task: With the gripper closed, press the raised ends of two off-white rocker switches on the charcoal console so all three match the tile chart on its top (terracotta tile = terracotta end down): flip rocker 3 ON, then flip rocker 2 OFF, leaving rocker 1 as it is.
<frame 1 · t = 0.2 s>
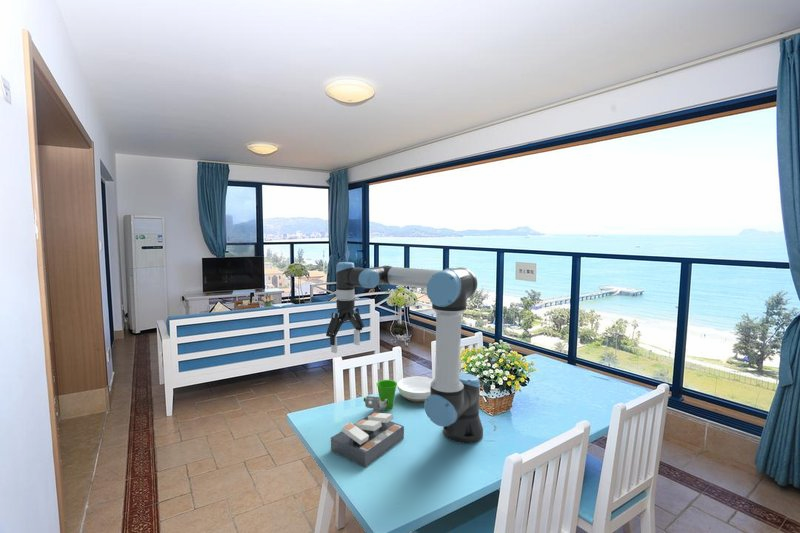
hand: (345, 348, 165), 28 cm above the table, fingers open, 13 cm apart
mechanical component: (376, 422, 159), on the table
rocker 3: (355, 433, 136), point 8 cm above the table, hinge at -13.0°
rocker 2: (368, 424, 141), point 8 cm above the table, hinge at 13.0°
rocker 1: (380, 417, 147), point 8 cm above the table, hinge at 13.0°
console: (368, 444, 142), on the table
cup: (386, 408, 172), on the table
bowl: (418, 397, 183), on the table
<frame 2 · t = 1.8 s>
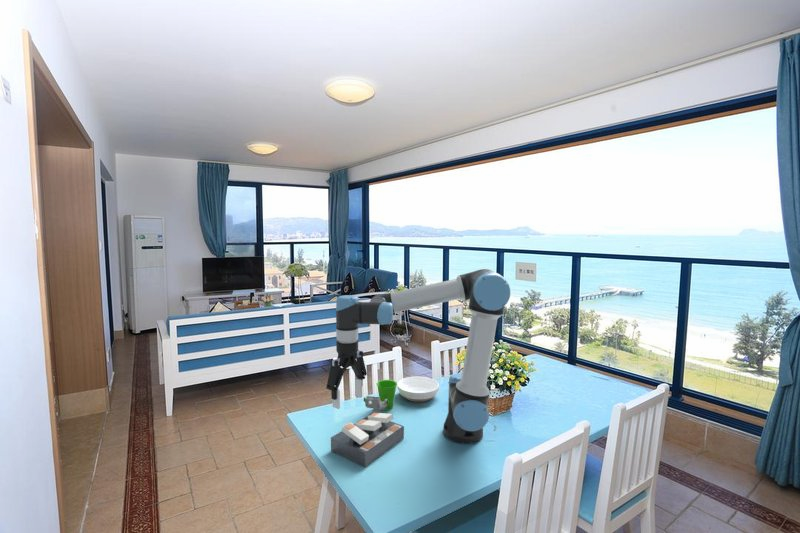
hand: (347, 401, 137), 18 cm above the table, fingers open, 10 cm apart
nothing on the table moved.
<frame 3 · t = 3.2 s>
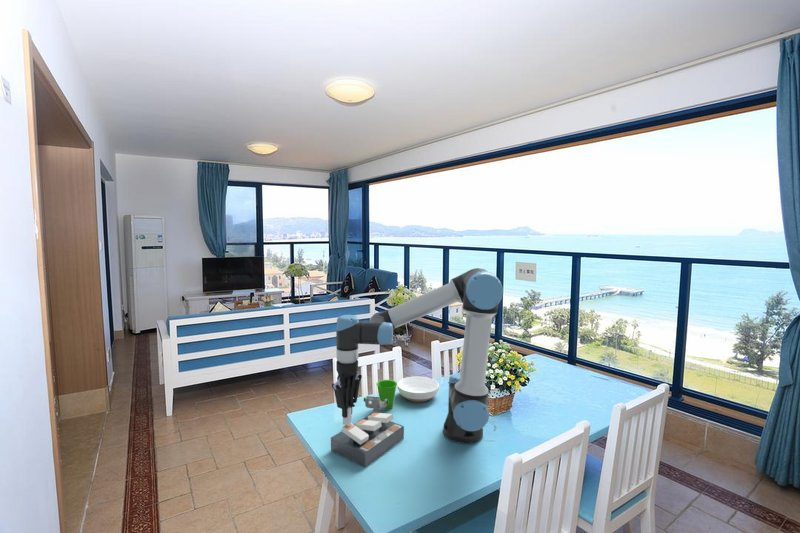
hand: (347, 424, 138), 9 cm above the table, fingers closed
rocker 3: (355, 433, 136), point 8 cm above the table, hinge at -12.4°, touching gripper
everything else where it was.
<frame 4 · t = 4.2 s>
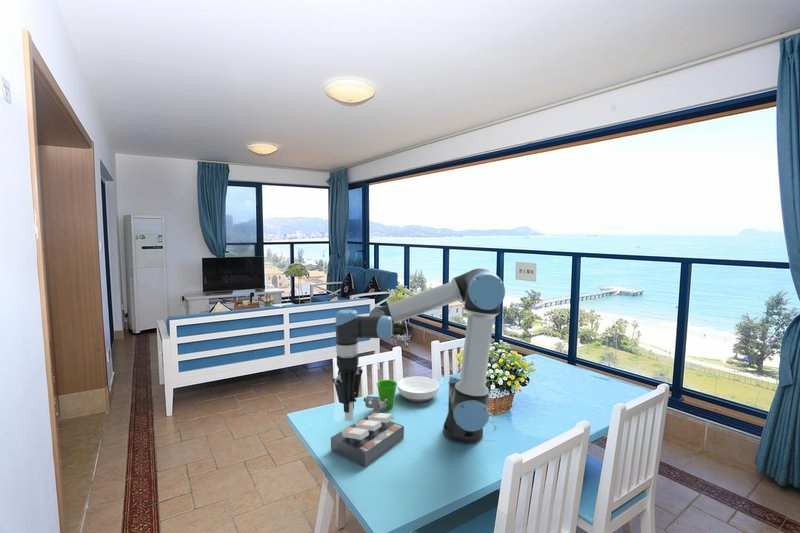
hand: (349, 419, 137), 11 cm above the table, fingers closed
rocker 3: (355, 433, 136), point 8 cm above the table, hinge at 11.8°
everything else where it was.
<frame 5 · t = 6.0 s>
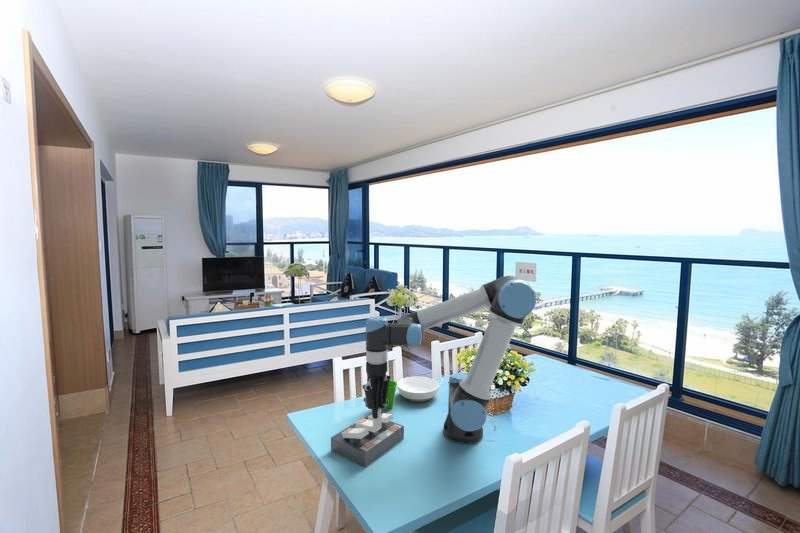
hand: (377, 425, 139), 9 cm above the table, fingers closed
rocker 3: (355, 433, 136), point 8 cm above the table, hinge at 17.0°
rocker 2: (368, 424, 141), point 8 cm above the table, hinge at 5.4°, touching gripper
everything else where it was.
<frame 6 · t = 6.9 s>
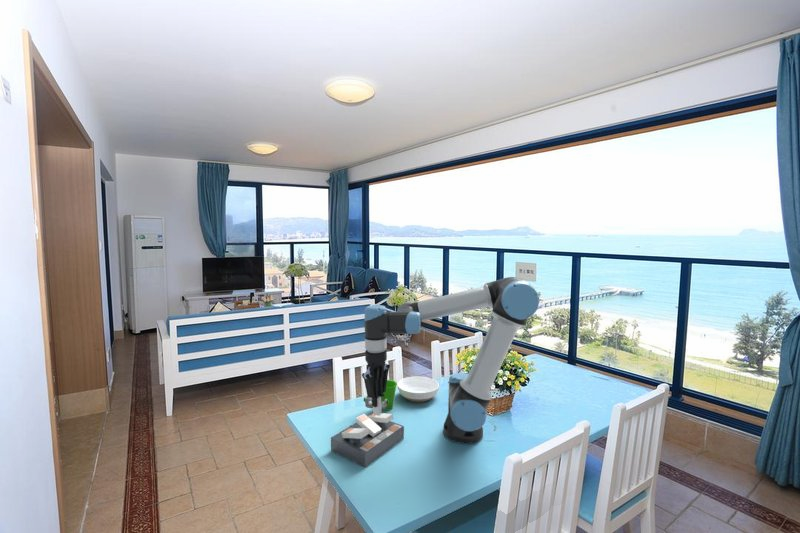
hand: (377, 414, 139), 13 cm above the table, fingers closed
rocker 2: (368, 424, 141), point 8 cm above the table, hinge at -20.6°
everything else where it was.
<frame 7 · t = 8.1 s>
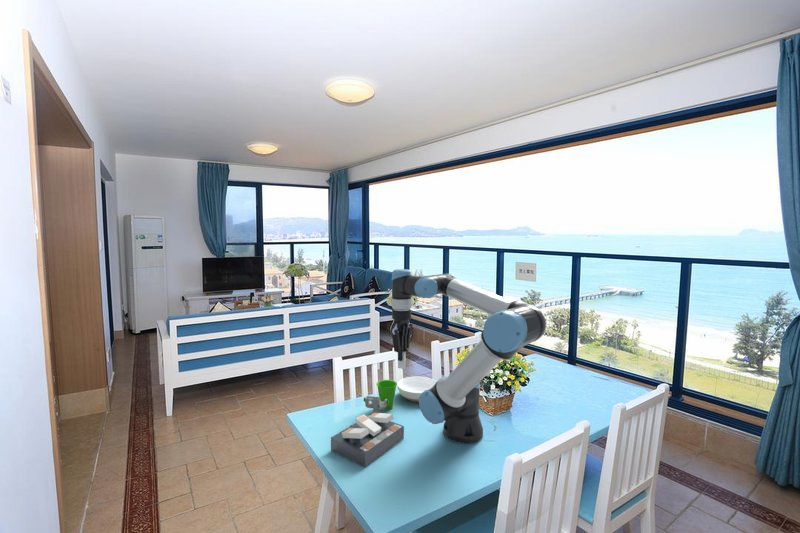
hand: (401, 367, 154), 24 cm above the table, fingers closed
rocker 2: (368, 424, 141), point 8 cm above the table, hinge at -15.6°
everything else where it was.
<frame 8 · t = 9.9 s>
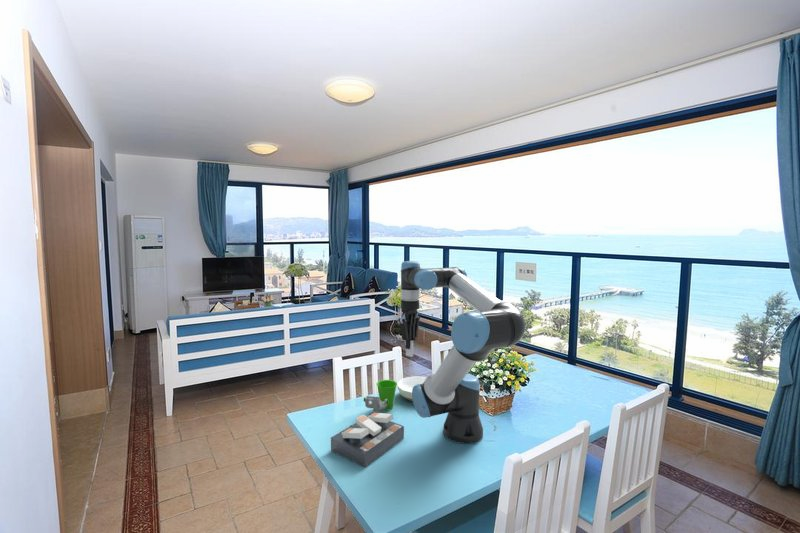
hand: (409, 355, 160), 26 cm above the table, fingers closed
rocker 2: (368, 424, 141), point 8 cm above the table, hinge at -14.6°
everything else where it was.
at the end: rocker 3 at +17° (first picture: -13°); rocker 2 at -15° (first picture: +13°); rocker 1 at +13° (first picture: +13°) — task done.
